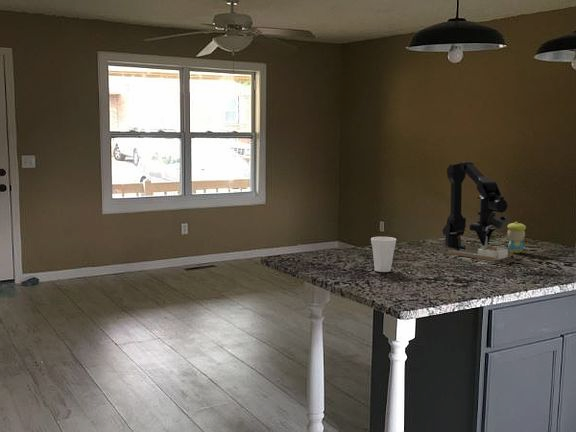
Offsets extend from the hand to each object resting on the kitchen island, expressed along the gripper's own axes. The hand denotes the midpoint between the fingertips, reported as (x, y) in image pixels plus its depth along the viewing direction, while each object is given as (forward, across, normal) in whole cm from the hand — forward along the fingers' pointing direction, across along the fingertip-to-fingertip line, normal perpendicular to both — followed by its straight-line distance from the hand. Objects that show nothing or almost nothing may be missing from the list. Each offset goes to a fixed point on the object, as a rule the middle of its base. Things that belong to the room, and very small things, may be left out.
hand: (485, 245), depth 277 cm
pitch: (+6, 0, +2) cm, 6 cm away
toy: (+6, +18, -6) cm, 20 cm away
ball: (+3, 0, -4) cm, 5 cm away
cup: (+6, -56, +14) cm, 58 cm away
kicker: (+5, 0, 0) cm, 5 cm away
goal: (+5, 0, -6) cm, 8 cm away
